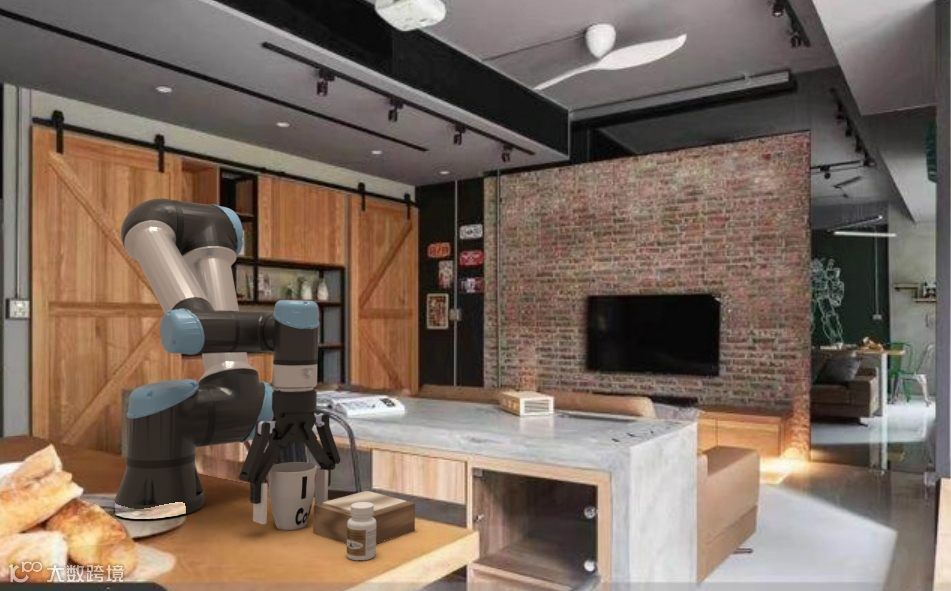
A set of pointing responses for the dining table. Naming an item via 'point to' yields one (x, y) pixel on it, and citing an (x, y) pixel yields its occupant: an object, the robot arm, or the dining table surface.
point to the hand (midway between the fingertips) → (291, 513)
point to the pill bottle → (361, 532)
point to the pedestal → (387, 512)
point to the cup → (292, 493)
